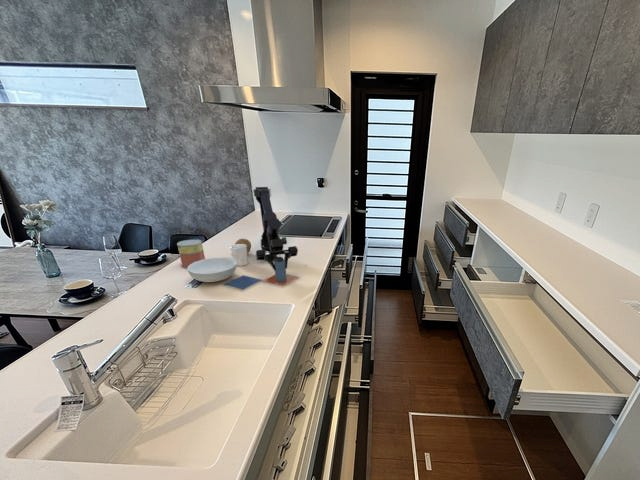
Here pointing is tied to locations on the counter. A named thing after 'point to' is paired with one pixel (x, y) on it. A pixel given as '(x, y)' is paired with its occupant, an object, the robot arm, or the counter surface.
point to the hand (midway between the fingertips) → (280, 269)
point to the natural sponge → (246, 242)
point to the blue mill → (280, 269)
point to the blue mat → (242, 282)
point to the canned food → (190, 251)
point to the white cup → (239, 254)
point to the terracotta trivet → (273, 281)
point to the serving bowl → (212, 269)
